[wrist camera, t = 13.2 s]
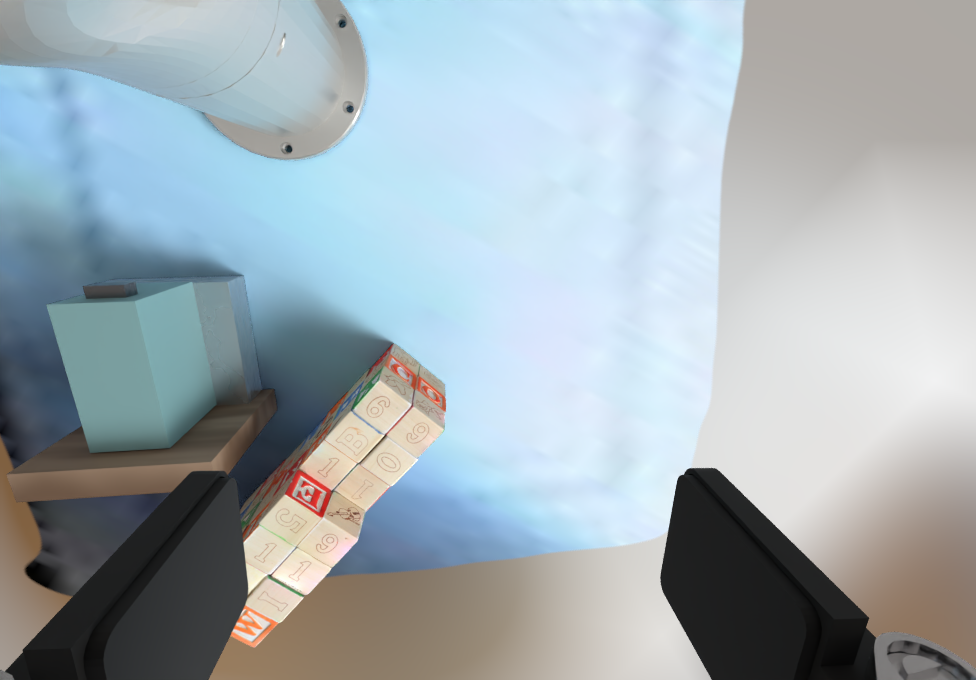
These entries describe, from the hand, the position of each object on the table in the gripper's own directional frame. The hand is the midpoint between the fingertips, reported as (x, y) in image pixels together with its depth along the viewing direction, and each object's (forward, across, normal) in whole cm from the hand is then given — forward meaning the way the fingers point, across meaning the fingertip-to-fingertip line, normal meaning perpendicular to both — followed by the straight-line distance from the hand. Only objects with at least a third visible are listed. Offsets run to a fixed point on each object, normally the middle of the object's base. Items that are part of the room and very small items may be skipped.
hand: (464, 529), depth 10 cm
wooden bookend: (+32, +21, +6) cm, 39 cm away
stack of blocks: (+32, +9, +15) cm, 37 cm away
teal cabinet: (+29, +21, +5) cm, 36 cm away
